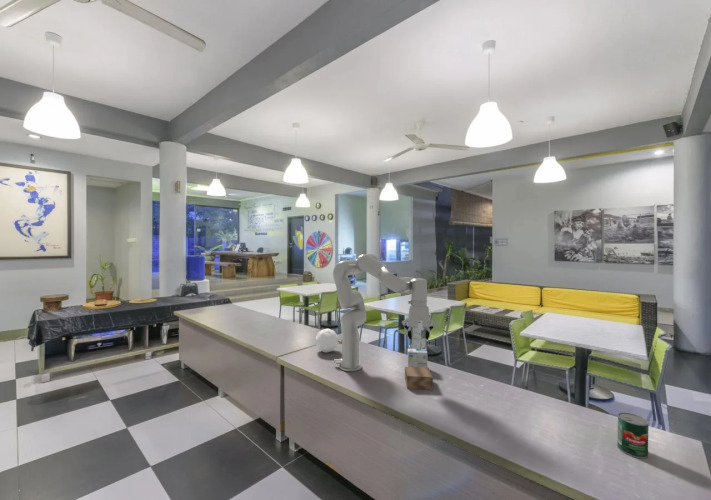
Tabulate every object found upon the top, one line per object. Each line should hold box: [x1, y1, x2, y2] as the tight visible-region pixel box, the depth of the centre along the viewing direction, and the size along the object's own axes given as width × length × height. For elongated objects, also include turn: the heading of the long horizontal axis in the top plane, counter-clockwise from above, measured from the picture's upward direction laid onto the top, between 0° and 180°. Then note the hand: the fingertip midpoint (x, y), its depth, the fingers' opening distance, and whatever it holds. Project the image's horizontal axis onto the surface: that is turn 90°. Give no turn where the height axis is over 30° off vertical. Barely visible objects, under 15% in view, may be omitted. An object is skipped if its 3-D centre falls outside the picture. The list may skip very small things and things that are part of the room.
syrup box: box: [410, 320, 427, 350], centre depth 159 cm, size 6×6×14 cm
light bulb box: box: [407, 348, 428, 367], centre depth 177 cm, size 11×7×11 cm, turn 84°
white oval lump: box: [315, 328, 342, 354], centre depth 206 cm, size 14×15×20 cm
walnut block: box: [404, 366, 434, 390], centre depth 159 cm, size 12×12×6 cm
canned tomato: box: [616, 411, 650, 459], centre depth 108 cm, size 8×8×11 cm
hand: (418, 338), depth 159 cm, fingers closed on syrup box, 8 cm apart
